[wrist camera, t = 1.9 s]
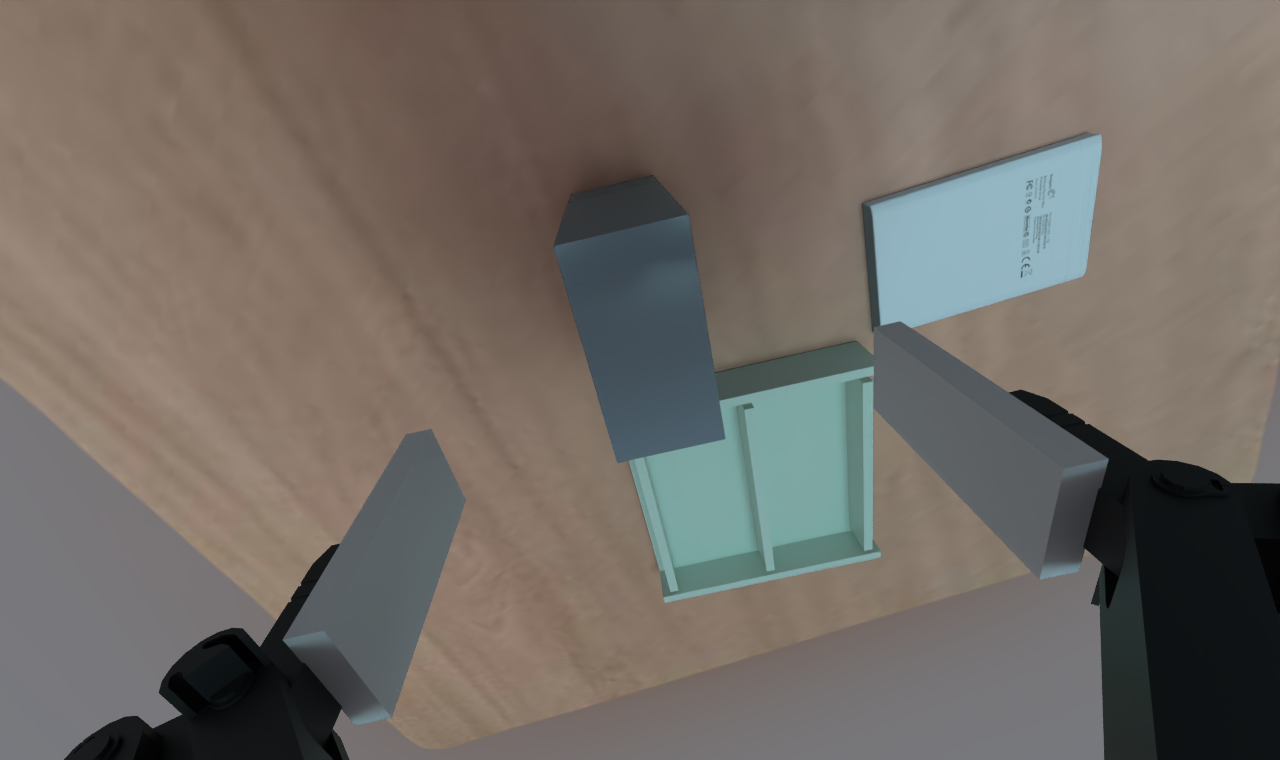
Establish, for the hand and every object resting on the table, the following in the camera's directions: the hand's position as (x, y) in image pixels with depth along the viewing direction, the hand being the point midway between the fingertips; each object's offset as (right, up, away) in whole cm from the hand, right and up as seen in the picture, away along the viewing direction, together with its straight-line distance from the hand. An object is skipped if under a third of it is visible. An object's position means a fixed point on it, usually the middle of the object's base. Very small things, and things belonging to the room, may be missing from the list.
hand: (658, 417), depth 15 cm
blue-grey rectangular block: (-1, +8, +14) cm, 16 cm away
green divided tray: (+7, -5, +21) cm, 23 cm away
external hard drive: (+19, +10, +15) cm, 26 cm away
